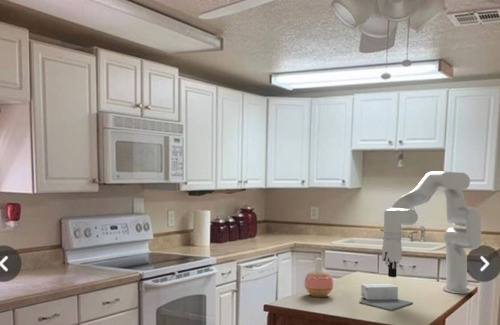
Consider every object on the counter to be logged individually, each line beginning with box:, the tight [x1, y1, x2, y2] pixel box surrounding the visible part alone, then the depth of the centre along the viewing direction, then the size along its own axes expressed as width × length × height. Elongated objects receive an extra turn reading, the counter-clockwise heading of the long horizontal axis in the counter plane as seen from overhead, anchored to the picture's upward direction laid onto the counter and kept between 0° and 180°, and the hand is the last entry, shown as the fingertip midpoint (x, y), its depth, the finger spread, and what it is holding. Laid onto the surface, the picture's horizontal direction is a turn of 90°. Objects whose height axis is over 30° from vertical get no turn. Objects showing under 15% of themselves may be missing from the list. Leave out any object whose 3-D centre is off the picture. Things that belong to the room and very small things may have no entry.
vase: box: [303, 257, 334, 298], centre depth 222 cm, size 14×14×18 cm
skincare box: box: [360, 283, 399, 300], centre depth 218 cm, size 8×6×15 cm
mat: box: [359, 298, 414, 312], centre depth 210 cm, size 18×16×1 cm
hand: (392, 276), depth 214 cm, fingers closed
